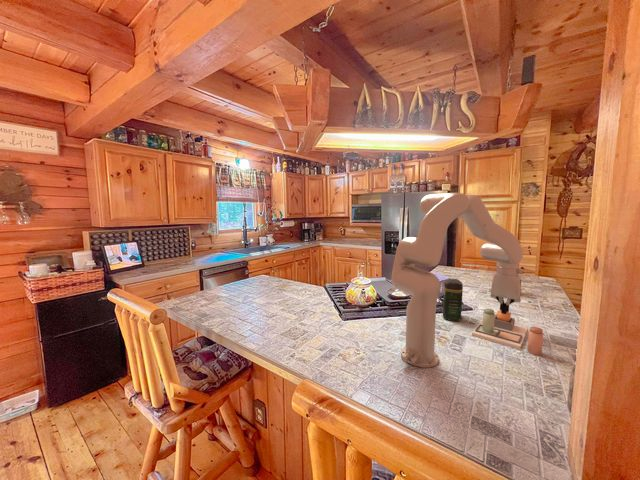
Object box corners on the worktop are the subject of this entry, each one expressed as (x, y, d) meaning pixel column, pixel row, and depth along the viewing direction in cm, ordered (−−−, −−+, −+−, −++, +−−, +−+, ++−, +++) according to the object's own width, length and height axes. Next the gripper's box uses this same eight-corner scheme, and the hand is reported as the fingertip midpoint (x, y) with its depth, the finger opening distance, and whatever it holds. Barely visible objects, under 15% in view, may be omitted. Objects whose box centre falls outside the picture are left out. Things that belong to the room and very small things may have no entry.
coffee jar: (462, 322, 120) (464, 283, 118) (443, 320, 123) (444, 281, 121) (460, 314, 129) (461, 277, 126) (442, 312, 132) (443, 276, 129)
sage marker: (492, 334, 106) (493, 313, 105) (480, 330, 109) (482, 310, 108) (494, 330, 109) (496, 310, 108) (483, 327, 112) (485, 307, 111)
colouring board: (520, 349, 97) (521, 338, 97) (471, 335, 108) (472, 325, 108) (527, 330, 111) (528, 320, 111) (484, 319, 122) (484, 310, 122)
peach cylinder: (540, 356, 92) (543, 332, 91) (526, 352, 95) (528, 329, 94) (542, 352, 95) (544, 328, 94) (528, 348, 98) (530, 325, 97)
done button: (509, 325, 110) (509, 316, 109) (495, 321, 113) (496, 312, 113) (511, 321, 113) (511, 312, 113) (497, 318, 117) (498, 309, 116)
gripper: (530, 272, 108) (527, 314, 110) (488, 266, 118) (486, 305, 121) (528, 275, 103) (524, 320, 105) (484, 270, 113) (482, 310, 115)
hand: (504, 312), depth 113 cm, fingers closed
